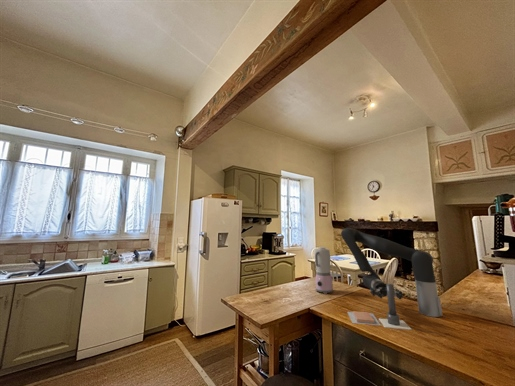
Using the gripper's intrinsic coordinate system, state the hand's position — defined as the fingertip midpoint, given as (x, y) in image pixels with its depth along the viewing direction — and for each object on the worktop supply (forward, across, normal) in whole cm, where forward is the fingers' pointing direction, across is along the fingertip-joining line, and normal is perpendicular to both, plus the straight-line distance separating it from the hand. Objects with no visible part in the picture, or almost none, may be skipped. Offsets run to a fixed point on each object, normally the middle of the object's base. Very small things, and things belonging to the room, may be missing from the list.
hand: (390, 296), depth 104 cm
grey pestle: (+1, 0, +12) cm, 12 cm away
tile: (-8, -13, +12) cm, 19 cm away
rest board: (+1, 0, +13) cm, 13 cm away
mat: (-4, -13, +13) cm, 19 cm away
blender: (-46, -30, +13) cm, 56 cm away
